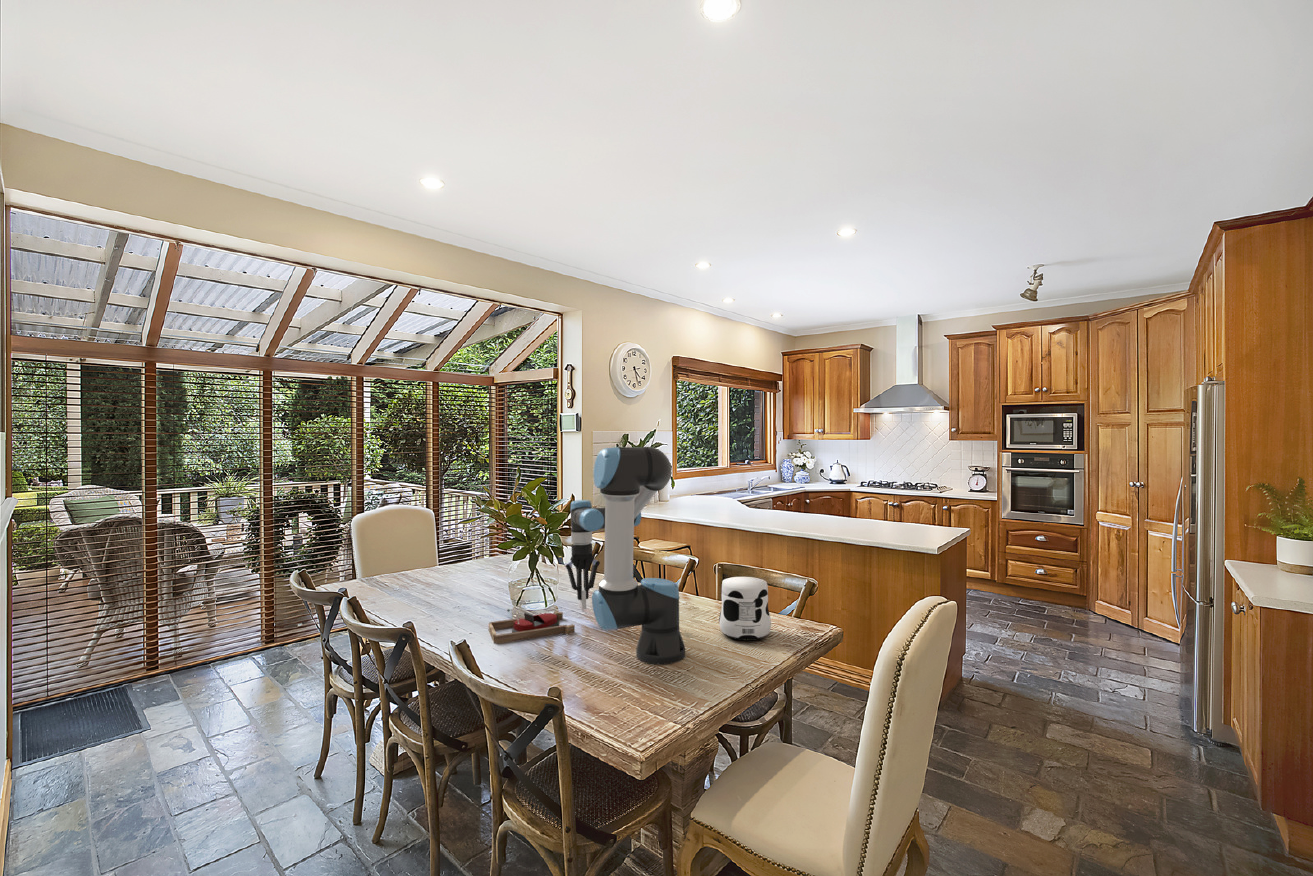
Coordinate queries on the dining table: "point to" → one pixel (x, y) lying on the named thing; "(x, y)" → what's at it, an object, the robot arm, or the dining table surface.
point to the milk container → (745, 608)
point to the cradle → (529, 633)
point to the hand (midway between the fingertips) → (583, 608)
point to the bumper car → (534, 621)
